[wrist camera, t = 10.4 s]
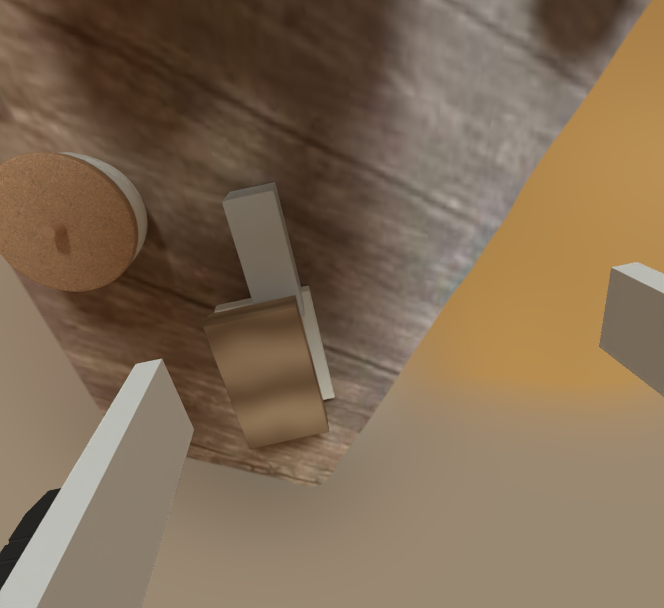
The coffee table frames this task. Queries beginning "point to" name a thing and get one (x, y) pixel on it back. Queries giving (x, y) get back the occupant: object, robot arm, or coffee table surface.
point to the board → (268, 371)
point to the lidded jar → (69, 220)
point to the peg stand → (311, 334)
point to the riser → (263, 243)
